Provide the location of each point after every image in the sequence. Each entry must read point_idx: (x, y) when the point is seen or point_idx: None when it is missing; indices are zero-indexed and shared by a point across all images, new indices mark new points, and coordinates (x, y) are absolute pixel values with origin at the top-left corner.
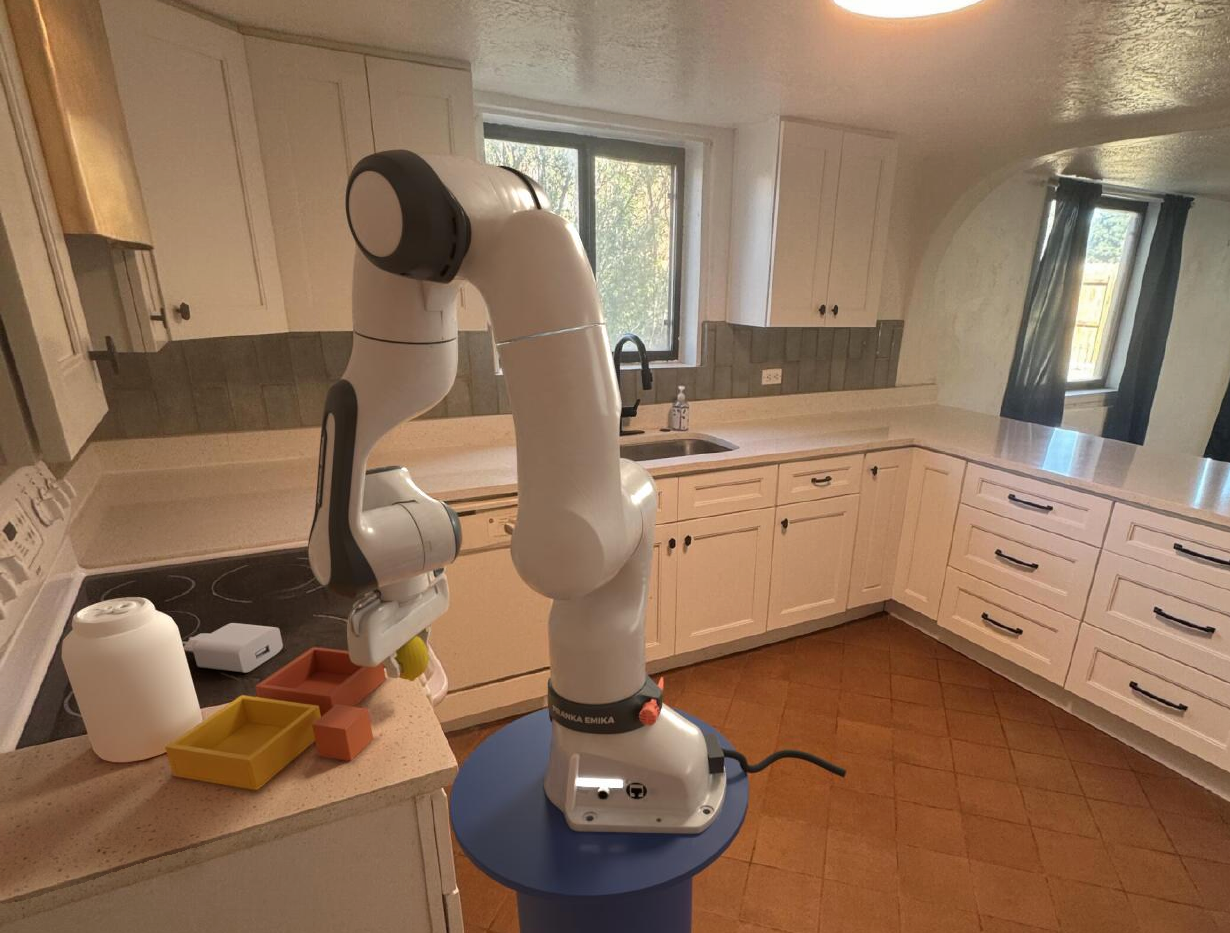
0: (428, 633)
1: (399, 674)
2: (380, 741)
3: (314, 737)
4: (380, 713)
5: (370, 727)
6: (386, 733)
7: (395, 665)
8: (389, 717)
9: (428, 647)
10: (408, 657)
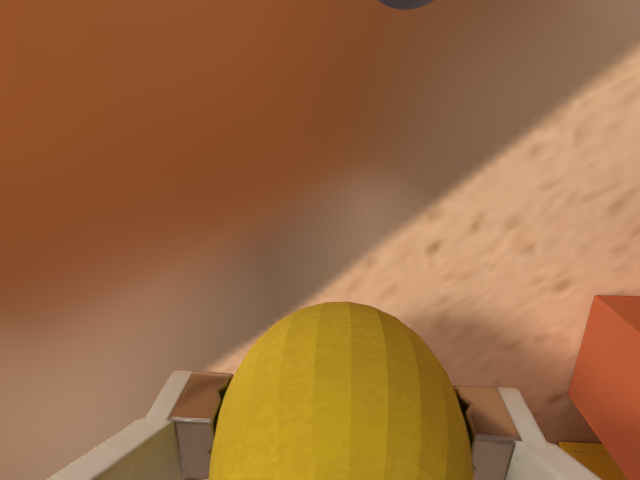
0: (100, 469)
1: (503, 392)
2: (605, 267)
3: (606, 452)
4: (432, 350)
5: (633, 324)
6: (553, 272)
7: (571, 461)
8: (452, 312)
9: (170, 387)
10: (454, 436)
